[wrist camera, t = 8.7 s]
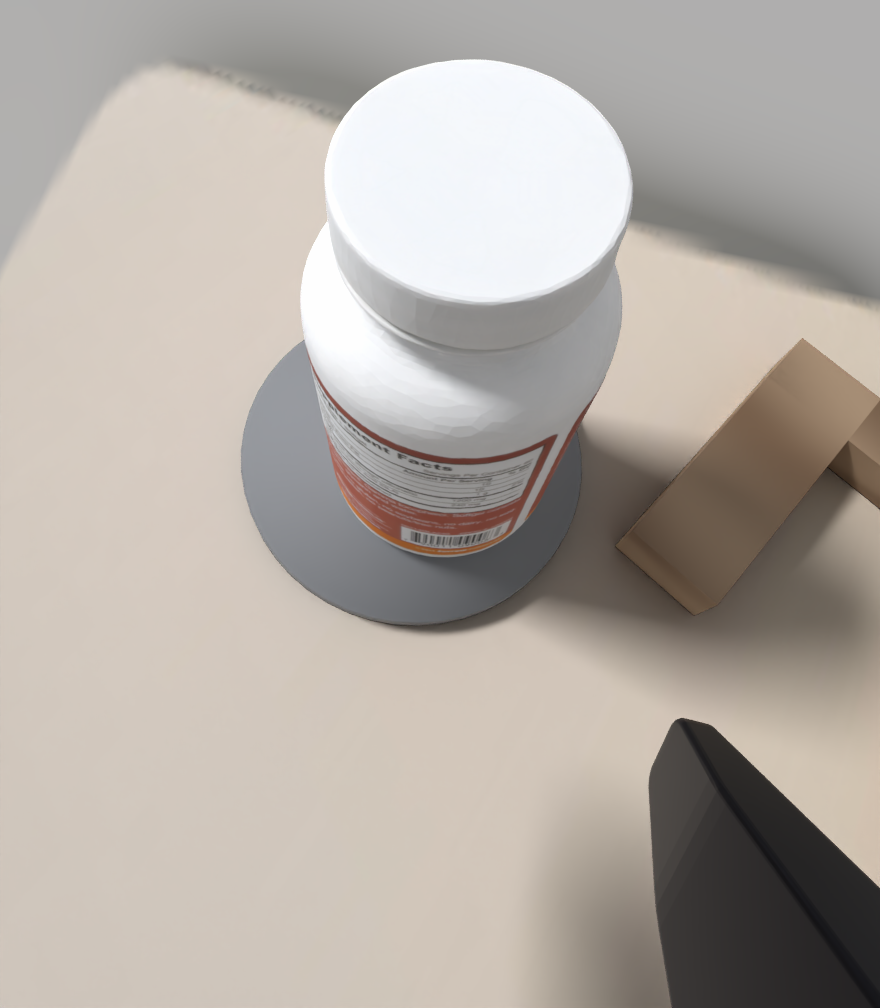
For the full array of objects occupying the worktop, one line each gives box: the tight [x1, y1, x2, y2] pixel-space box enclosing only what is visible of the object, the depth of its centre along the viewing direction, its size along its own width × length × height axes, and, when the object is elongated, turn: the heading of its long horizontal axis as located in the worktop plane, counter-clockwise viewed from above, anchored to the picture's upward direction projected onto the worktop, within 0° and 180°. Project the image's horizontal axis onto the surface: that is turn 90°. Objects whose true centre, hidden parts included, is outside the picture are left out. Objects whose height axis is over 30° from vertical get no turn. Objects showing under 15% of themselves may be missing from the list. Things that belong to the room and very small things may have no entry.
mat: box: [241, 340, 582, 626], centre depth 22 cm, size 10×10×1 cm
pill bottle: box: [300, 60, 633, 557], centre depth 16 cm, size 6×6×11 cm
